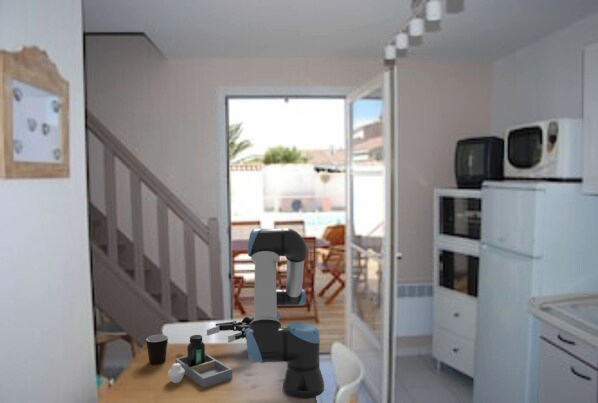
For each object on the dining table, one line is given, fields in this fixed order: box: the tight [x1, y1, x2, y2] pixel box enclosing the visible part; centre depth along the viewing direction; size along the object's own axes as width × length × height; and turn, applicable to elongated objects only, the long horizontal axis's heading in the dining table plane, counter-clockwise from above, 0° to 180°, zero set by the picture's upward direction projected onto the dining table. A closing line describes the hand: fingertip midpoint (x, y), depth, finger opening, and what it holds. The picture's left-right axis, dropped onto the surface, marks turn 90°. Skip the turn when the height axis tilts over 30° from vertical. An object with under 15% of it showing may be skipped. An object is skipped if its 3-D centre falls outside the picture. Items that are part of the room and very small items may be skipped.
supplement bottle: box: [186, 334, 206, 367], centre depth 171 cm, size 7×7×12 cm
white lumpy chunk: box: [167, 362, 185, 384], centre depth 159 cm, size 6×6×7 cm
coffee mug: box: [145, 334, 169, 366], centre depth 179 cm, size 12×9×10 cm
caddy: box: [174, 352, 233, 389], centre depth 167 cm, size 23×12×4 cm, turn 41°
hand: (217, 335), depth 179 cm, fingers open, 13 cm apart
